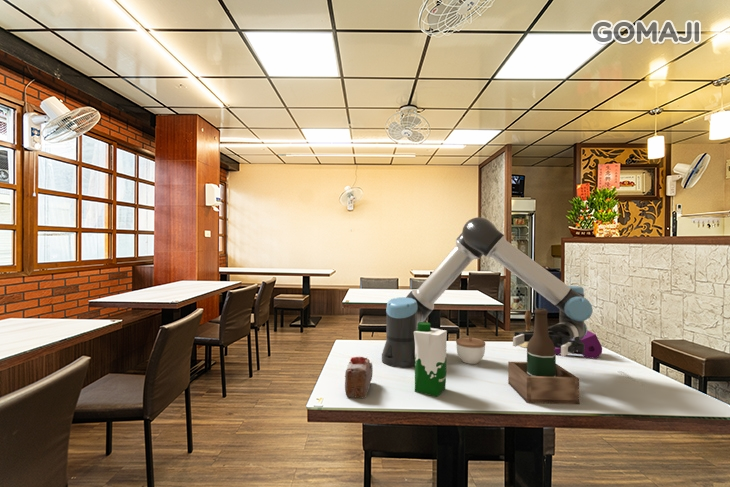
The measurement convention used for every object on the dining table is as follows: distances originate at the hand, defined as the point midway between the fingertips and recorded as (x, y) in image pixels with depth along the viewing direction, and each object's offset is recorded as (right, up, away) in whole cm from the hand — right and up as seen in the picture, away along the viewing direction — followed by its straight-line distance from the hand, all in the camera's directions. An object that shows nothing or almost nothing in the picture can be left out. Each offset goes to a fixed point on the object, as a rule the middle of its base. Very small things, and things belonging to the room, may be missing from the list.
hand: (537, 346), depth 105 cm
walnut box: (+2, -15, +2) cm, 15 cm away
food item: (-52, -14, +4) cm, 54 cm away
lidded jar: (-10, -15, +32) cm, 37 cm away
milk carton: (-31, -15, +3) cm, 34 cm away
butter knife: (+38, -16, +9) cm, 42 cm away
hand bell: (+22, -16, +55) cm, 62 cm away
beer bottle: (+2, -14, +2) cm, 14 cm away
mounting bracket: (+35, -16, +43) cm, 58 cm away
